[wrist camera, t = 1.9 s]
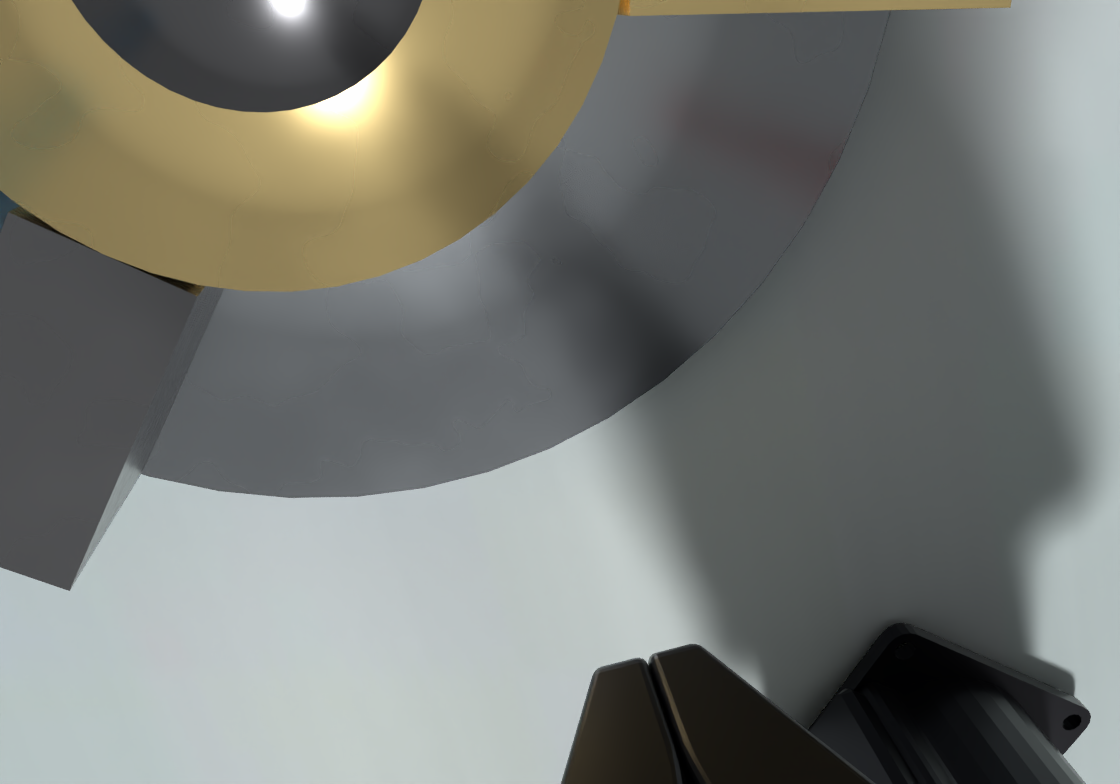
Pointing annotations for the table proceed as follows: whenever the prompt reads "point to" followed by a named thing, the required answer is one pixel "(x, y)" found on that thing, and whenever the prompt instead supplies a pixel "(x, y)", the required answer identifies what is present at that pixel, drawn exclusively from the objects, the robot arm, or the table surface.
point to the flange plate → (540, 275)
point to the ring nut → (243, 192)
